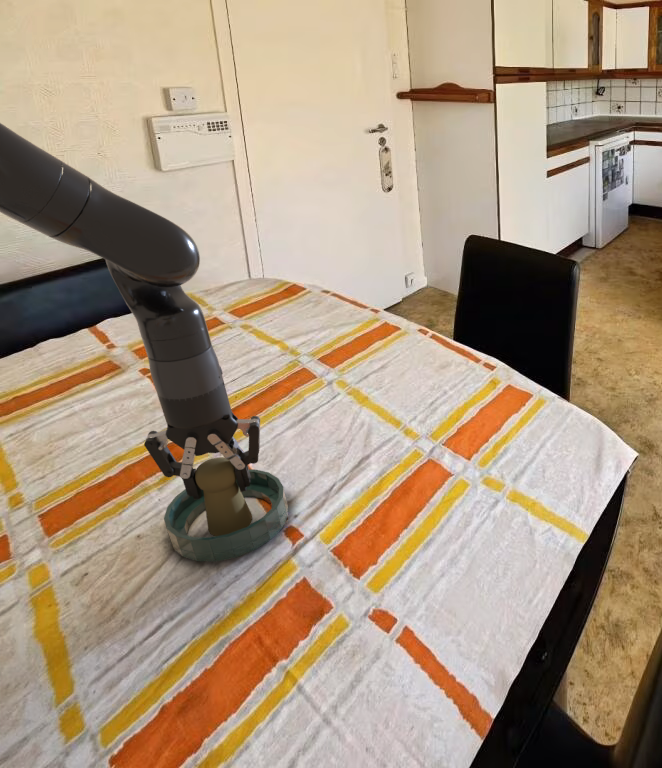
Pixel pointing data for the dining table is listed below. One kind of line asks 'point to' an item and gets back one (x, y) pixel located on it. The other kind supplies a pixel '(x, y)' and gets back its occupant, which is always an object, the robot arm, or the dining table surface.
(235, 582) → the dining table surface
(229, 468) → the cork
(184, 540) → the green faceted band
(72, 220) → the robot arm
